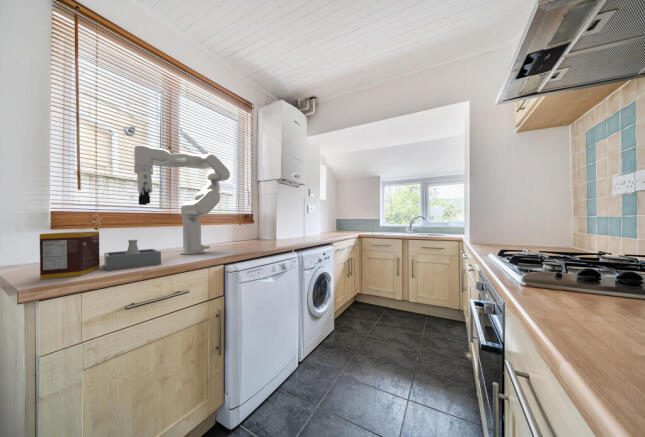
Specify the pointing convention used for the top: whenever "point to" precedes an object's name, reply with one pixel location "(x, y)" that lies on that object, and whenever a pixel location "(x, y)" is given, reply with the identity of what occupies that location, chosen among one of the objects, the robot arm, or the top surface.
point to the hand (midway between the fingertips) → (144, 204)
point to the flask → (132, 247)
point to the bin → (131, 259)
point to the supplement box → (68, 254)
